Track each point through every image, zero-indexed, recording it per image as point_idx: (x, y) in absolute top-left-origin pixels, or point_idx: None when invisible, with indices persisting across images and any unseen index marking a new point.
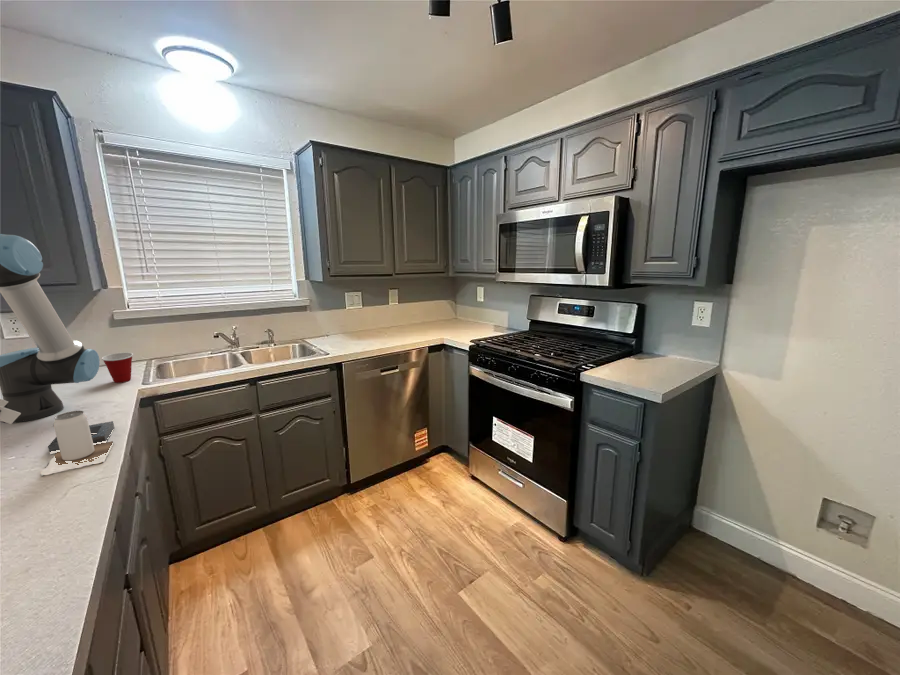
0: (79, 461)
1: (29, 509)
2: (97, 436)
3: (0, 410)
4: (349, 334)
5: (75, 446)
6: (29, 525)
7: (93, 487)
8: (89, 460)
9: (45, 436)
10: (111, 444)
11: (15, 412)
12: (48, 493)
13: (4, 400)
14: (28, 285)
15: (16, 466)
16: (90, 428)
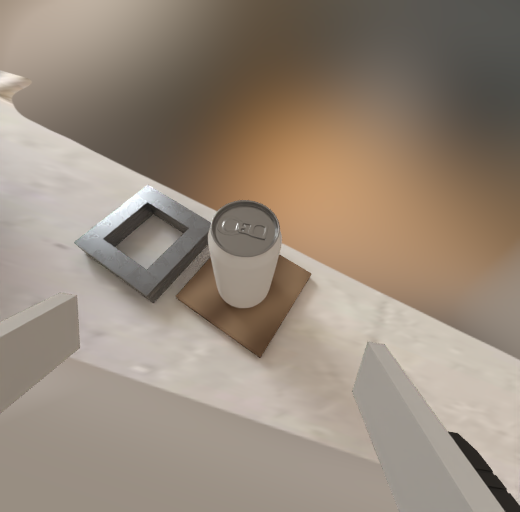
0: (277, 296)
1: None
2: (204, 231)
3: (460, 438)
4: None
5: (271, 281)
6: (489, 462)
7: (409, 332)
8: (292, 286)
9: (25, 264)
10: None
11: (392, 362)
12: None
13: (57, 302)
14: None
15: (140, 362)
16: (133, 216)
